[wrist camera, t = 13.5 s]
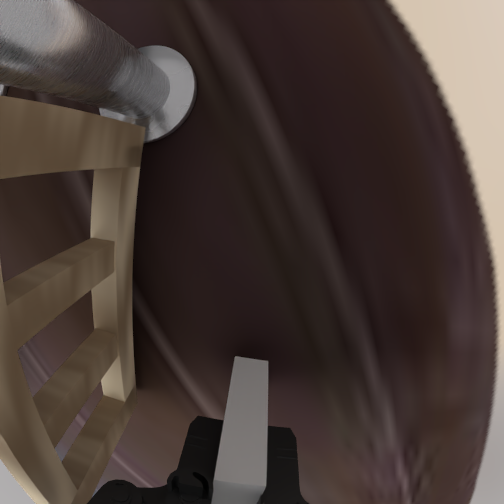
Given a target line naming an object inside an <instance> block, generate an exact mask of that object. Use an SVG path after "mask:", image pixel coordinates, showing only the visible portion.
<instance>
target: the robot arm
mask: <svg viewBox="0 0 504 504" xmlns="http://www.w3.org/2000/svg"><path fill="white" fill-rule="evenodd" d="M297 458H298V457H297V443H296V437H295V435H294V434H293V432H292V430H291V429H290V428H284V427H273V426H268V361H264V360H257V359H250V358H244V357H238V356H235V359H234V365H233V371H232V376H231V382H230V388H229V394H228V400H227V405H226V411H225V417H224V420H218V419H212V418H207V417H202V416H197V417H196V418H195V419H194V421H193V422H192V423H191V424H190V426H189V429H188V433H187V437H186V440H185V444H184V447H183V450H182V454H181V457H180V461H179V464H178V468H177V470H176V471H174V472H173V473H171V474H170V476H169V477H168V479H167V485H165V486H162V487H156V488H137V487H136V486H135V485H133V484H132V483H130V482H128V481H125V480H112V481H108V482H107V483H106V484H104V485H103V486H102V487H101V488H100V489H99V490H98V492H97V493H96V494H95V495H94V496H93V497H92V498H91V500H90V501H89V502H88V503H87V504H309V503H307V502H306V501H305V500H304V499H303V497H302V495H301V493H300V487H299V472H298V460H297Z"/></svg>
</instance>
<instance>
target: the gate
mask: <svg viewBox="0 0 504 504" xmlns="http://www.w3.org/2000/svg"><path fill="white" fill-rule="evenodd" d="M145 129H146V127H142V126H139V125H135V124H131V123H128V122H124V121H120V120H116V119H113V118H109V117H105V116H101V115H97V114H93V113H88V112H84V111H80V110H75V109H71V108H66V107H62V106H57V105H52V104H47V103H42V102H36V101H31V100H25V99H19V98H13V97H7V96H0V179H5V178H12V177H19V176H27V175H36V174H45V173H54V172H65V171H76V170H90V169H94V179H93V192H92V208H91V238H90V239H88V240H86V241H84V242H82V243H80V244H78V245H76V246H74V247H71V248H69V249H67V250H65V251H63V252H61V253H59V254H57V255H55V256H53V257H51V258H49V259H47V260H45V261H43V262H41V263H39V264H38V265H36V266H34V267H32V268H30V269H28V270H26V271H24V272H22V273H20V274H19V275H17V276H15V277H13V278H11V279H9V280H8V281H6V282H4V283H3V278H2V270H1V261H0V459H1V460H2V462H3V463H4V465H5V466H6V467H7V469H8V470H9V471H10V473H11V474H12V475H13V477H14V478H15V479H16V481H17V482H18V483H19V484H20V486H21V487H22V488H23V489H24V490H25V492H26V493H27V494H28V495H29V496H30V498H31V499H32V500H33V501H34V502H35V503H36V504H87V503H88V502H89V501H90V500H91V497H92V495H93V493H94V491H95V489H96V487H97V485H98V482H99V480H100V478H101V476H102V474H103V472H104V470H105V468H106V466H107V464H108V461H109V459H110V457H111V455H112V453H113V451H114V449H115V447H116V445H117V443H118V441H119V439H120V437H121V435H122V433H123V431H124V429H125V427H126V425H127V423H128V421H129V419H130V417H131V415H132V413H133V411H134V409H135V407H136V405H137V403H138V402H137V392H136V381H135V367H134V350H133V323H132V272H133V245H134V227H135V213H136V202H137V191H138V181H139V172H140V164H141V156H142V149H143V142H144V136H145ZM90 290H91V291H92V307H93V320H94V331H93V332H92V333H91V334H90V335H89V336H88V337H87V338H86V339H85V340H84V342H83V343H82V344H81V345H80V346H79V347H78V348H77V349H76V350H75V351H74V352H73V353H72V354H71V355H70V357H69V358H68V359H67V360H66V361H65V362H64V363H63V364H62V365H61V366H60V367H59V369H58V370H57V371H56V372H55V373H54V374H53V375H52V376H51V377H50V379H49V380H48V381H47V382H46V383H45V384H44V385H43V386H42V388H41V389H40V390H39V391H38V392H37V393H36V394H35V396H34V397H33V398H32V395H31V392H30V390H29V387H28V384H27V381H26V378H25V375H24V372H23V368H22V365H21V362H20V358H19V355H18V351H17V350H18V349H19V348H20V347H22V346H23V345H24V344H25V343H26V342H27V341H29V340H30V339H31V338H32V337H33V336H34V335H36V334H37V333H38V332H39V331H40V330H41V329H43V328H44V327H45V326H46V325H47V324H49V323H50V322H51V321H52V320H54V319H55V318H56V317H57V316H58V315H60V314H61V313H62V312H63V311H65V310H66V309H67V308H68V307H70V306H71V305H72V304H73V303H75V302H76V301H77V300H78V299H80V298H81V297H82V296H83V295H85V294H86V293H87V292H89V291H90ZM100 381H101V382H102V388H103V394H104V395H103V397H102V398H101V400H100V402H99V403H98V405H97V406H96V408H95V409H94V411H93V412H92V414H91V416H90V417H89V419H88V420H87V422H86V424H85V425H84V427H83V428H82V430H81V432H80V433H79V435H78V436H77V438H76V440H75V441H74V443H73V444H72V446H71V448H70V449H69V451H68V453H67V454H66V456H65V458H64V459H63V461H62V462H61V460H60V459H59V457H58V455H57V453H56V451H55V447H56V446H57V444H58V442H59V441H60V439H61V438H62V436H63V435H64V433H65V432H66V430H67V429H68V427H69V426H70V424H71V423H72V421H73V420H74V418H75V417H76V415H77V414H78V412H79V411H80V410H81V408H82V407H83V405H84V404H85V402H86V401H87V399H88V398H89V396H90V395H91V394H92V392H93V391H94V389H95V388H96V386H97V385H98V384H99V382H100Z"/></svg>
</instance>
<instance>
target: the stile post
mask: <svg viewBox="0 0 504 504" xmlns="http://www.w3.org/2000/svg"><path fill="white" fill-rule="evenodd" d="M7 90H8V86H7V85H1V84H0V96H6V94H7Z"/></svg>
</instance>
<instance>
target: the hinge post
mask: <svg viewBox="0 0 504 504" xmlns="http://www.w3.org/2000/svg"><path fill="white" fill-rule="evenodd" d="M0 84H1V85H7V86H12V87H17V88H22V89H27V90H31V91H36V92H40V93H45V94H49V95H53V96H57V97H61V98H65V99H69V100H73V101H77V102H80V103H84V104H88V105H91V106H95V107H98V108H99V111H100V115H101V116H105V117H109V118H113V119H116V120H120V121H124V122H128V123H131V124H135V125H139V126H142V127H146V129H145V136H144V142H143V143H148V142H154V141H157V140H160V139H163V138H165V137H167V136H168V135H170V134H172V133H173V132H174V131H176V130H177V129H178V128H179V127H180V126H181V125H182V124H183V123H184V122H185V120H186V119H187V118H188V116H189V115H190V113H191V111H192V109H193V106H194V104H195V101H196V97H197V80H196V76H195V73H194V71H193V69H192V67H191V65H190V64H189V63H188V61H187V60H186V59H185V58H184V57H183V56H182V55H181V54H180V53H178V52H177V51H175V50H173V49H171V48H168V47H165V46H146V47H141V48H139V49H137V48H135V47H134V46H133V45H132V44H131V43H129V42H128V41H127V40H126V39H124V38H123V37H122V36H120V35H119V34H118V33H117V32H115V31H114V30H113V29H112V28H110V27H109V26H108V25H106V24H105V23H104V22H102V21H101V20H100V19H98V18H97V17H96V16H94V15H93V14H92V13H90V12H89V11H88V10H86V9H85V8H83V7H82V6H81V5H79V4H78V3H76V2H75V1H74V0H0Z"/></svg>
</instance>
